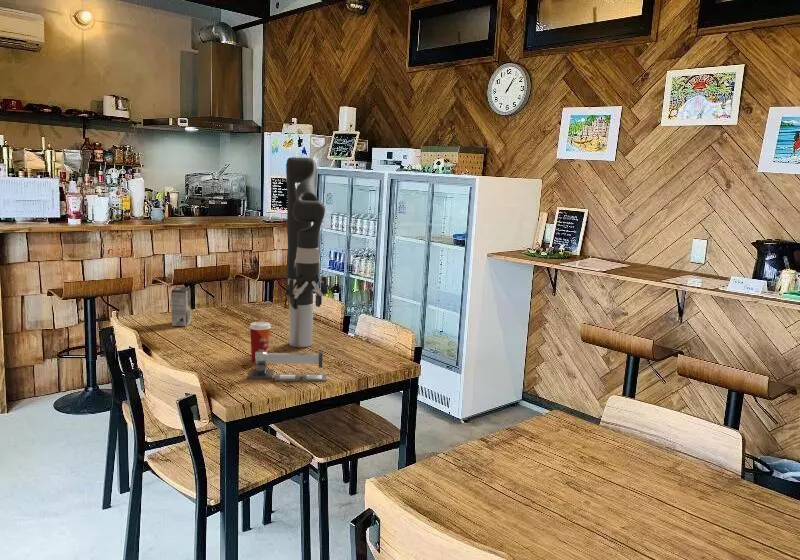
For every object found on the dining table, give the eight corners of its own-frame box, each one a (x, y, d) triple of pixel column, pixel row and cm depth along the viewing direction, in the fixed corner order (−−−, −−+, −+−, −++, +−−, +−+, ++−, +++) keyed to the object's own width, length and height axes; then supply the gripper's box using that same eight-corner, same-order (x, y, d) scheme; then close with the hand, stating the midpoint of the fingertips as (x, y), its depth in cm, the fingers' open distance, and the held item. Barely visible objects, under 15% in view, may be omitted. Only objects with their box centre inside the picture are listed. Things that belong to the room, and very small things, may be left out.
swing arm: (254, 367, 204) (254, 353, 204) (256, 362, 209) (256, 348, 208) (322, 367, 207) (322, 353, 207) (322, 363, 212) (322, 349, 211)
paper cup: (265, 364, 219) (265, 327, 216) (245, 362, 220) (245, 325, 218) (273, 358, 226) (274, 322, 224) (254, 356, 228) (254, 320, 225)
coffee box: (176, 321, 273) (176, 286, 270) (191, 322, 274) (191, 286, 271) (171, 326, 264) (170, 290, 261) (186, 327, 265) (186, 290, 262)
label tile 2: (302, 375, 210) (302, 373, 209) (325, 375, 211) (326, 373, 211) (302, 381, 204) (302, 379, 204) (326, 381, 205) (326, 379, 205)
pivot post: (250, 371, 211) (250, 359, 210) (273, 371, 212) (274, 359, 211) (247, 378, 203) (247, 366, 203) (272, 378, 204) (272, 366, 204)
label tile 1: (276, 375, 208) (276, 373, 208) (299, 375, 209) (299, 373, 209) (274, 380, 202) (274, 379, 202) (299, 381, 204) (299, 379, 203)
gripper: (320, 257, 210) (319, 303, 213) (283, 260, 202) (282, 307, 205) (331, 261, 204) (330, 308, 207) (293, 263, 196) (292, 312, 199)
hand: (306, 307), depth 206 cm, fingers open, 8 cm apart
